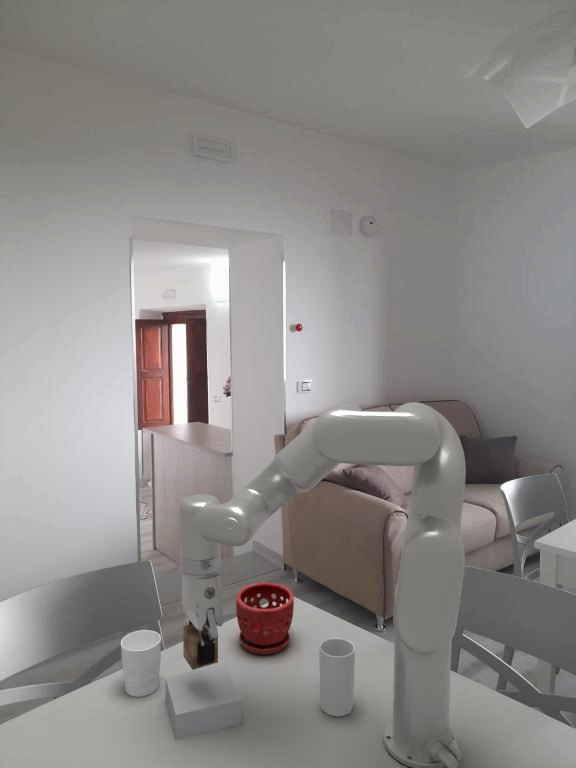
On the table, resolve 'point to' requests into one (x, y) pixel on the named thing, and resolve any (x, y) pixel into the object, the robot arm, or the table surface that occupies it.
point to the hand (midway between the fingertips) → (200, 654)
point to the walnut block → (194, 646)
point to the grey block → (202, 701)
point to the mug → (336, 676)
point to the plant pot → (264, 617)
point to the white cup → (141, 662)
